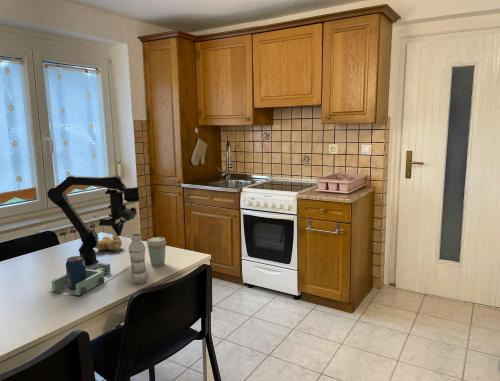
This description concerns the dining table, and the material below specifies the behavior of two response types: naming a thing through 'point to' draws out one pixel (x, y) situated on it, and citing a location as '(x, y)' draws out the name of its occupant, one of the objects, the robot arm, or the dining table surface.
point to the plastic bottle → (137, 260)
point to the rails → (90, 289)
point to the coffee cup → (157, 251)
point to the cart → (91, 281)
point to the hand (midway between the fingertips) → (119, 235)
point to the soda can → (75, 271)
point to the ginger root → (109, 243)
